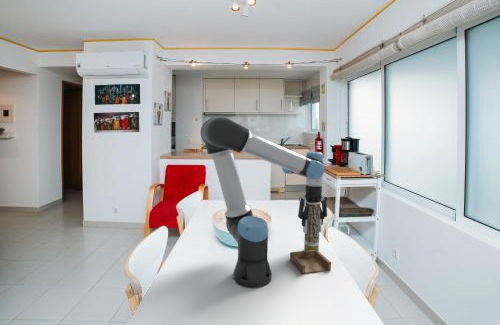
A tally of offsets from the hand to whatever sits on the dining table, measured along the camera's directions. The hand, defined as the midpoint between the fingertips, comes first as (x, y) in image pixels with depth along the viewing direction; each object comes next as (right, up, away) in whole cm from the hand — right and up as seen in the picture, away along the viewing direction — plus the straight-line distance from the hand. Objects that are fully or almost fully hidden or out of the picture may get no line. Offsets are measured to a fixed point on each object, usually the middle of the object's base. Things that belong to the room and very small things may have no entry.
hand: (312, 231), depth 136 cm
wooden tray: (-4, -12, -12) cm, 17 cm away
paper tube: (0, -10, +1) cm, 10 cm away
